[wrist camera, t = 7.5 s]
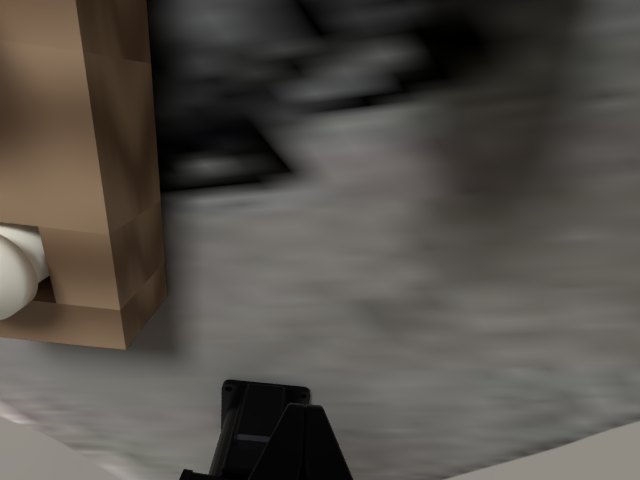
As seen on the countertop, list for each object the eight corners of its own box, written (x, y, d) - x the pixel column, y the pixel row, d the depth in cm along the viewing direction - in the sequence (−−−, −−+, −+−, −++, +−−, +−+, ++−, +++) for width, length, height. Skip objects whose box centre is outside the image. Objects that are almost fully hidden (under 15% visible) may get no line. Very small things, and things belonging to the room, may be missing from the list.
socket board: (167, 295, 21) (125, 349, 17) (8, 277, 21) (-78, 329, 16) (138, -116, 13) (42, -224, 9) (-121, -159, 13) (-364, -298, 8)
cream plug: (112, 261, 20) (32, 326, 14) (40, 253, 20) (-68, 315, 14) (103, 195, 18) (8, 239, 13) (24, 185, 18) (-106, 226, 12)
